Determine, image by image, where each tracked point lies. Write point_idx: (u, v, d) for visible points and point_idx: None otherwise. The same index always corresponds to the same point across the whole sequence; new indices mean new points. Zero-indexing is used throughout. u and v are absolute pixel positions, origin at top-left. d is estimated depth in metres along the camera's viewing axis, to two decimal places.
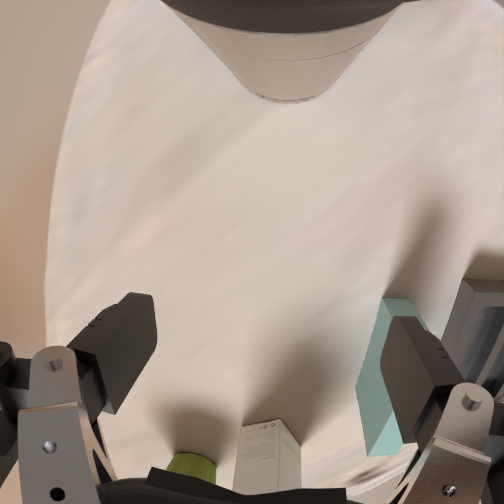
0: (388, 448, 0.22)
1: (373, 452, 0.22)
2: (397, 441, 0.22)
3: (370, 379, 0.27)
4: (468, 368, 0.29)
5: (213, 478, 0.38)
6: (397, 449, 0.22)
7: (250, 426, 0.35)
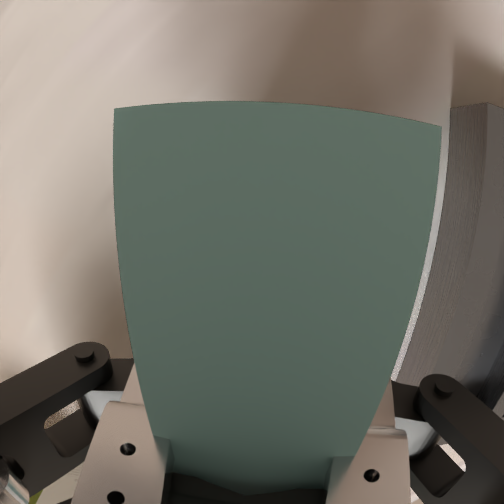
0: None
1: None
2: None
3: None
4: (497, 345, 0.12)
5: None
6: None
7: None
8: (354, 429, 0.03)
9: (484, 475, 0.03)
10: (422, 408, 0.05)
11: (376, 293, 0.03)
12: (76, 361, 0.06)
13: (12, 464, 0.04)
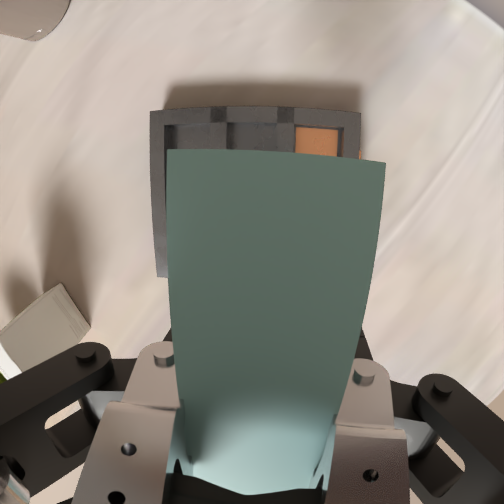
0: None
1: None
2: None
3: None
4: None
5: None
6: None
7: (45, 292, 0.38)
8: (335, 384, 0.05)
9: (483, 475, 0.03)
10: (421, 408, 0.05)
11: (342, 274, 0.04)
12: (77, 361, 0.06)
13: (13, 464, 0.04)
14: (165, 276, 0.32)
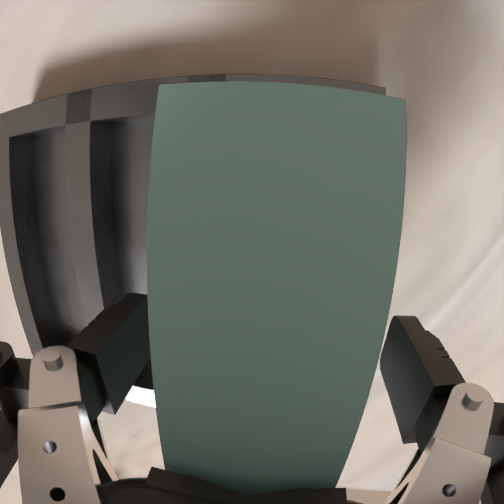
0: None
1: None
2: None
3: None
4: None
5: None
6: None
7: None
8: (358, 384, 0.04)
9: None
10: None
11: (366, 229, 0.03)
12: None
13: None
14: None
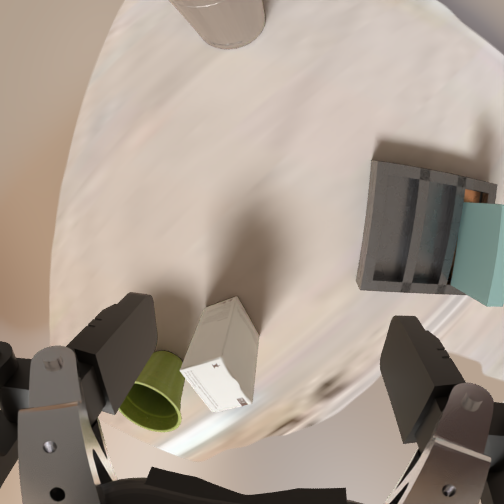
0: (498, 296, 0.28)
1: (490, 300, 0.28)
2: (503, 287, 0.28)
3: (466, 259, 0.34)
4: (401, 247, 0.39)
5: (181, 374, 0.48)
6: (503, 299, 0.28)
7: (212, 305, 0.46)
8: None
9: None
10: None
11: None
12: None
13: None
14: (365, 289, 0.40)
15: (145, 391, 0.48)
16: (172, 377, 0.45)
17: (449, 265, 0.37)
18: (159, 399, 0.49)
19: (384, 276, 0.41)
